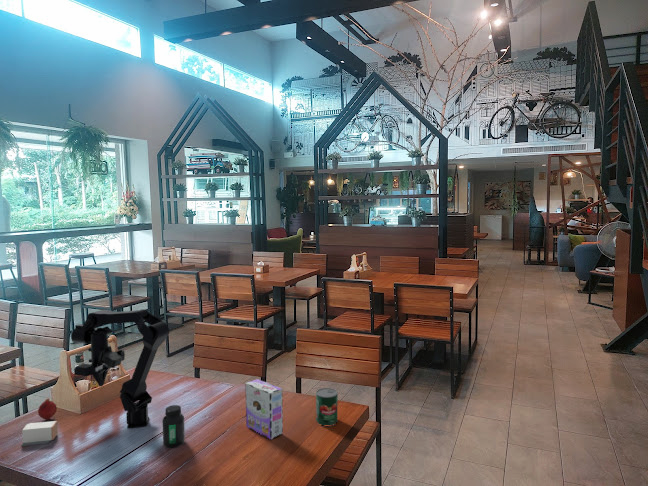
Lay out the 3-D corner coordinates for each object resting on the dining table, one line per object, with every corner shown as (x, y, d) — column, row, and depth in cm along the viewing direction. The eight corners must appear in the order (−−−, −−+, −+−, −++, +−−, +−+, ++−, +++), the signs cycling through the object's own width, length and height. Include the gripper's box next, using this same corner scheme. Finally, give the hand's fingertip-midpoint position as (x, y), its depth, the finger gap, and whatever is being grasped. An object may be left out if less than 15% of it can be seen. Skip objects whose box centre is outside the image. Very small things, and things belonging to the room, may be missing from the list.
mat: (55, 433, 157) (55, 432, 157) (48, 443, 151) (48, 442, 151) (30, 435, 156) (30, 434, 156) (21, 446, 149) (21, 444, 149)
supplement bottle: (175, 450, 147) (174, 414, 146) (158, 446, 149) (157, 410, 148) (189, 439, 153) (188, 405, 152) (172, 436, 155) (171, 402, 154)
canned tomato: (325, 428, 161) (325, 398, 160) (311, 421, 167) (311, 391, 166) (342, 421, 166) (342, 392, 165) (327, 414, 172) (327, 386, 171)
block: (57, 420, 156) (27, 423, 154) (52, 427, 152) (22, 429, 150) (57, 433, 156) (28, 436, 154) (53, 440, 152) (22, 443, 150)
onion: (48, 424, 164) (47, 402, 163) (34, 422, 165) (33, 401, 164) (60, 416, 169) (59, 396, 169) (47, 415, 171) (46, 394, 170)
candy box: (283, 434, 157) (283, 388, 156) (270, 440, 153) (270, 393, 151) (258, 421, 166) (257, 377, 165) (245, 427, 162) (244, 382, 161)
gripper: (97, 354, 156) (99, 398, 157) (135, 339, 174) (136, 379, 175) (72, 351, 159) (73, 394, 160) (111, 337, 177) (113, 376, 178)
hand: (101, 385), depth 168 cm, fingers closed
